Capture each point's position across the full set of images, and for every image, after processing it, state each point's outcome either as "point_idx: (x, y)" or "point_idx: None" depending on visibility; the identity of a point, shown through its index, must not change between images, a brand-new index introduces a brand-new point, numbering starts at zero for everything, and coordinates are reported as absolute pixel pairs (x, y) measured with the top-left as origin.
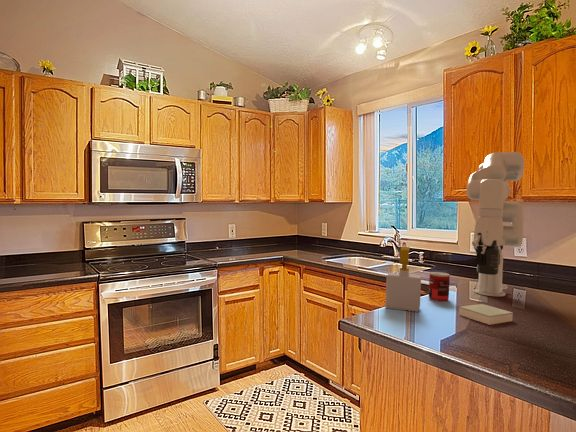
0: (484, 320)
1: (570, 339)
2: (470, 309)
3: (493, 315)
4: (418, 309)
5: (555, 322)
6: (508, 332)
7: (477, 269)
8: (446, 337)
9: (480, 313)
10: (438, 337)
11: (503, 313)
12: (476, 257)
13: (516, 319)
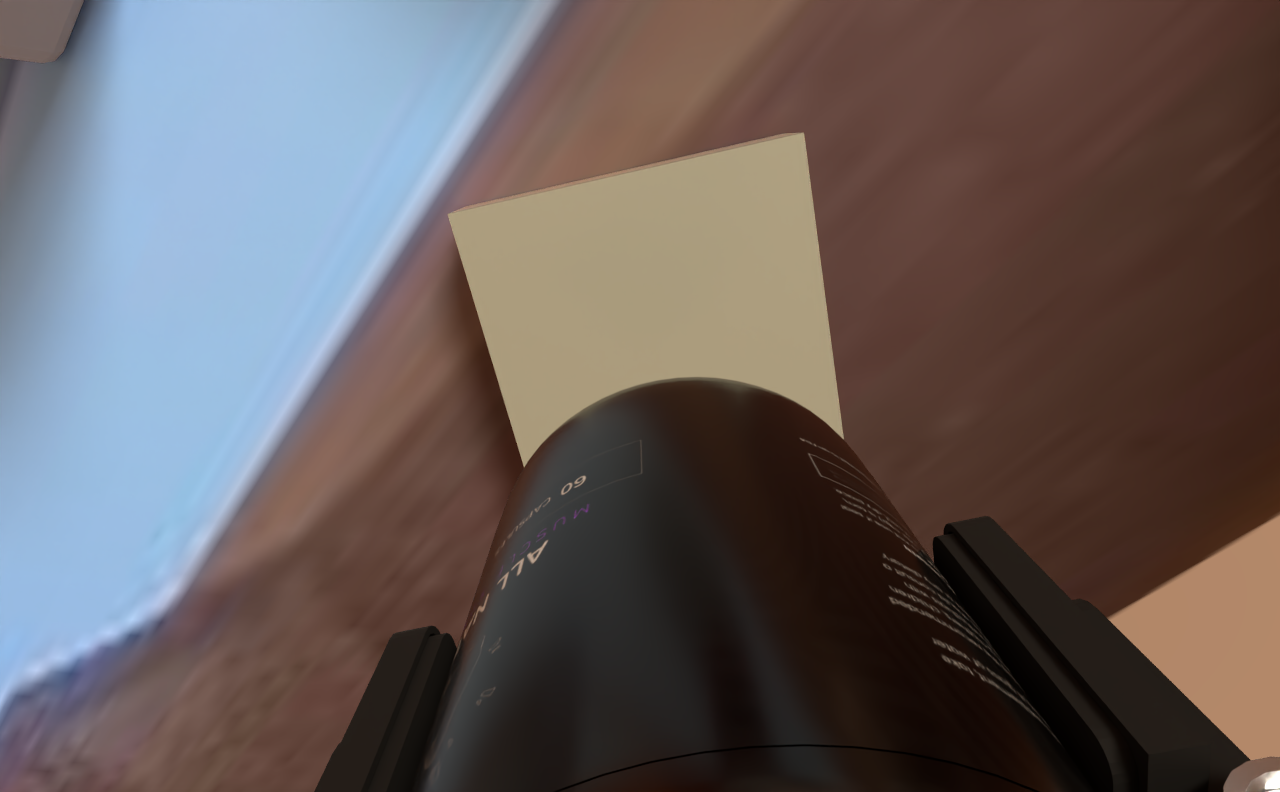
0: None
1: None
2: (498, 328)
3: None
4: (37, 62)
5: (1152, 498)
6: None
7: (502, 514)
8: (71, 663)
9: (518, 442)
10: (15, 658)
11: None
12: (331, 766)
13: (906, 395)
